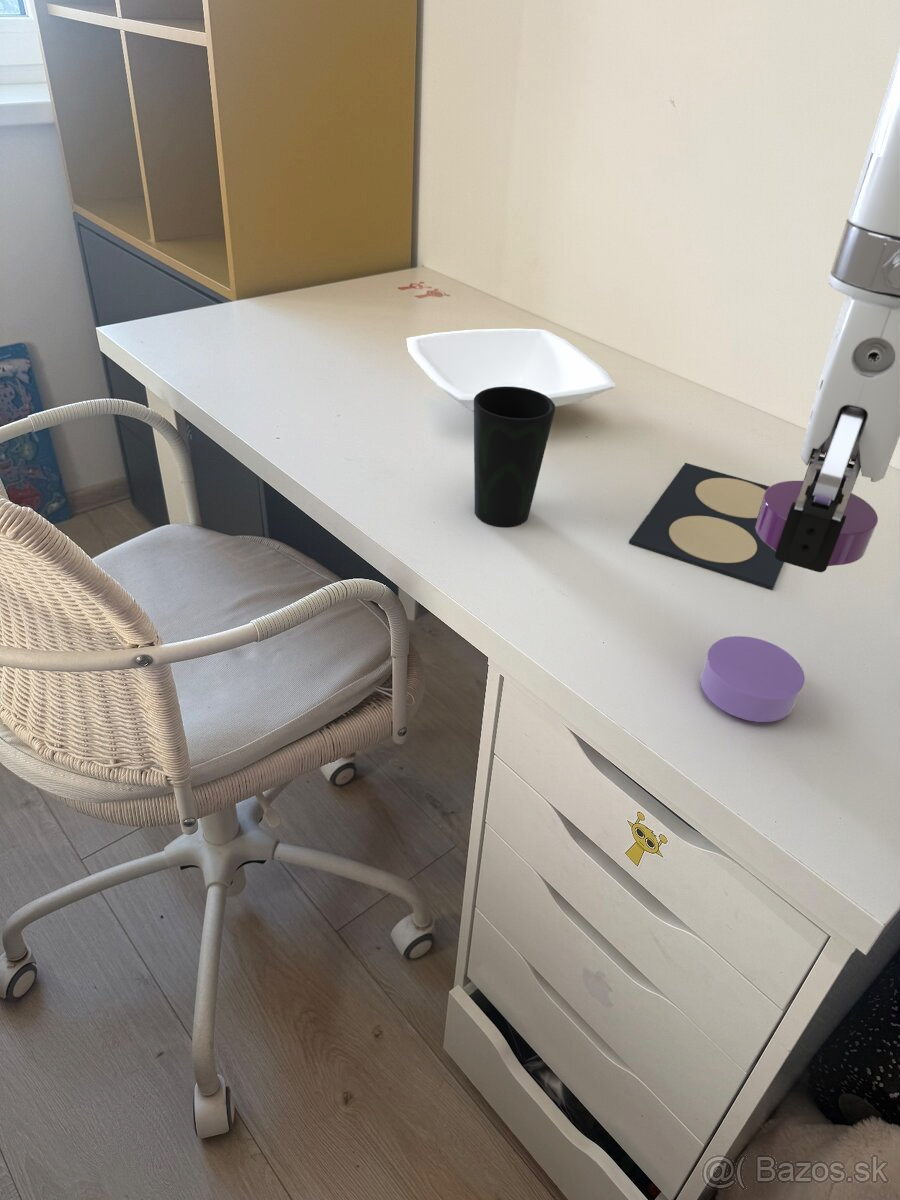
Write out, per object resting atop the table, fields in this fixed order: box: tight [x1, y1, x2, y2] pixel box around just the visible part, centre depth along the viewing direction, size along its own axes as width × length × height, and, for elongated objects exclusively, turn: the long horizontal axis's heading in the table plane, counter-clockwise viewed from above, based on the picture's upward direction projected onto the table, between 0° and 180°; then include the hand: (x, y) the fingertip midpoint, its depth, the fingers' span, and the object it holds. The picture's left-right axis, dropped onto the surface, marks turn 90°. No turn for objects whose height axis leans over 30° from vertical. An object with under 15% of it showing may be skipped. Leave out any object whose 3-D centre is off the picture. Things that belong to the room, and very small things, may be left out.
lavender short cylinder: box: [699, 635, 806, 723], centre depth 64 cm, size 7×7×3 cm
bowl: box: [406, 328, 616, 412], centre depth 105 cm, size 22×23×6 cm
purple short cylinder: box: [755, 480, 879, 567], centre depth 56 cm, size 7×7×3 cm
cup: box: [473, 387, 556, 528], centre depth 81 cm, size 8×8×12 cm
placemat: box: [628, 462, 785, 591], centre depth 86 cm, size 14×20×1 cm
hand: (809, 535), depth 56 cm, fingers closed on purple short cylinder, 7 cm apart
